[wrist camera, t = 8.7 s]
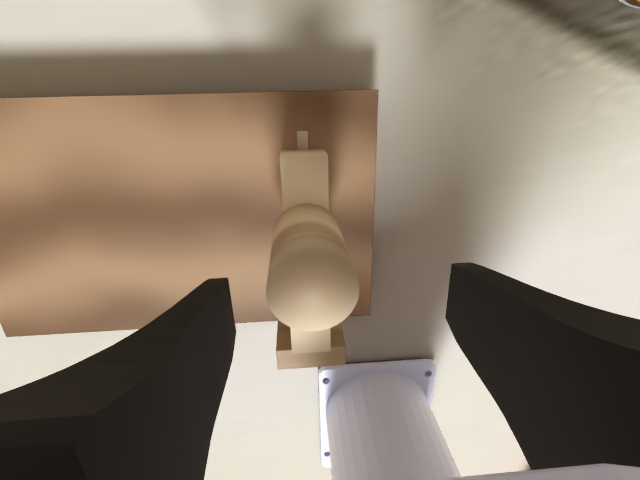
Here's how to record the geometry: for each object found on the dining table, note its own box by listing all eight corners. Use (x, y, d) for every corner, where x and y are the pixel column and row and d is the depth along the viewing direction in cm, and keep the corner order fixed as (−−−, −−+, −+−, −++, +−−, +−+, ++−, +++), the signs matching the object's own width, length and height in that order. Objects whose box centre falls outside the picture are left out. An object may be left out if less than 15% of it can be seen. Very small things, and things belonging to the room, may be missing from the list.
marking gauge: (338, 325, 22) (363, 452, 14) (279, 329, 22) (273, 459, 14) (337, 143, 18) (372, 182, 10) (265, 146, 18) (245, 187, 10)
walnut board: (363, 296, 23) (370, 315, 21) (31, 315, 21) (4, 338, 19) (369, 89, 18) (378, 89, 16) (-53, 99, 17) (-97, 100, 15)
